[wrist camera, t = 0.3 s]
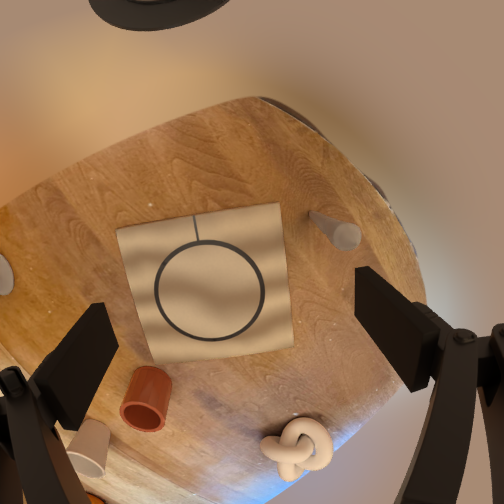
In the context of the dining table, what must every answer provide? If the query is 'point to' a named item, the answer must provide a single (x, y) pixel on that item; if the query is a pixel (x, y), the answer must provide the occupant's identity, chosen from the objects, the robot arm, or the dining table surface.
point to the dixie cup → (90, 449)
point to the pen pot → (146, 399)
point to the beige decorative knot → (299, 448)
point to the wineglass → (5, 276)
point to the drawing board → (210, 283)
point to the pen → (338, 231)
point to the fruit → (95, 499)
